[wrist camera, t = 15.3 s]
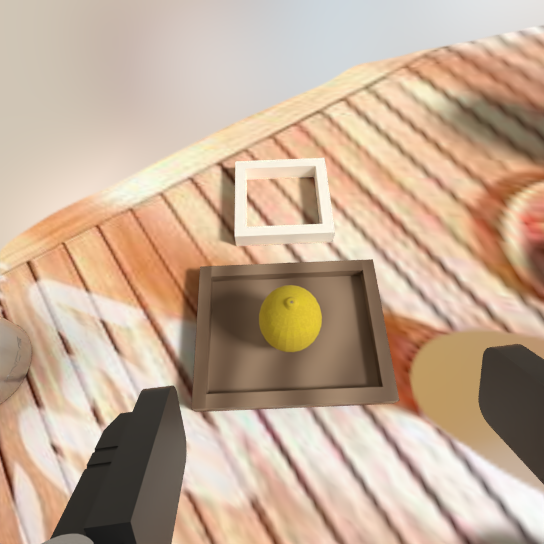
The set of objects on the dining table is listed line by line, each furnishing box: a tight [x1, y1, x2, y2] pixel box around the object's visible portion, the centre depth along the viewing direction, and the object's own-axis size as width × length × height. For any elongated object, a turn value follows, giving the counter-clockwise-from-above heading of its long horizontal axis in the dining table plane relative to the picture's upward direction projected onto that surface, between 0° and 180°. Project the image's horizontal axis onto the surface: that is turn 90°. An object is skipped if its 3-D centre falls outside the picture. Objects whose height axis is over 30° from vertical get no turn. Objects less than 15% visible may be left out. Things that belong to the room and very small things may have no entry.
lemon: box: [259, 285, 322, 352], centre depth 32 cm, size 6×6×8 cm
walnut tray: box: [192, 260, 399, 412], centre depth 36 cm, size 18×14×2 cm
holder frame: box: [235, 158, 335, 246], centre depth 43 cm, size 11×11×2 cm
